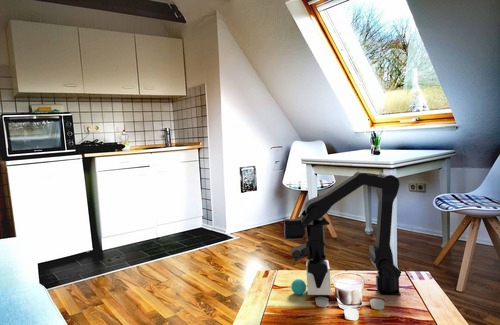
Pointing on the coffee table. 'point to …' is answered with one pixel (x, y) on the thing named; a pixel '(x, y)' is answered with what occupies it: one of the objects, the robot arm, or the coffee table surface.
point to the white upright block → (325, 286)
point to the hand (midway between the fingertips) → (318, 282)
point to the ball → (298, 287)
